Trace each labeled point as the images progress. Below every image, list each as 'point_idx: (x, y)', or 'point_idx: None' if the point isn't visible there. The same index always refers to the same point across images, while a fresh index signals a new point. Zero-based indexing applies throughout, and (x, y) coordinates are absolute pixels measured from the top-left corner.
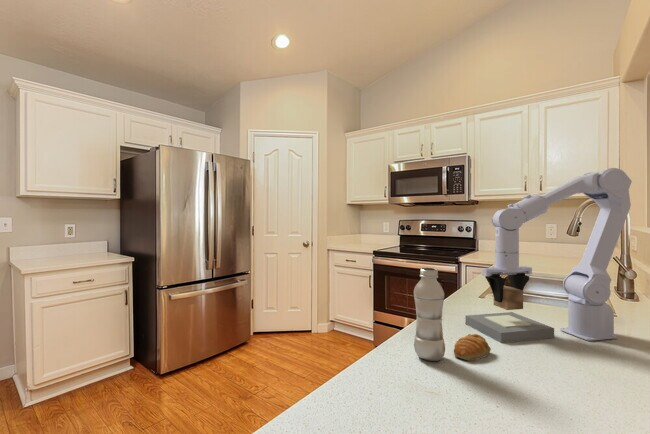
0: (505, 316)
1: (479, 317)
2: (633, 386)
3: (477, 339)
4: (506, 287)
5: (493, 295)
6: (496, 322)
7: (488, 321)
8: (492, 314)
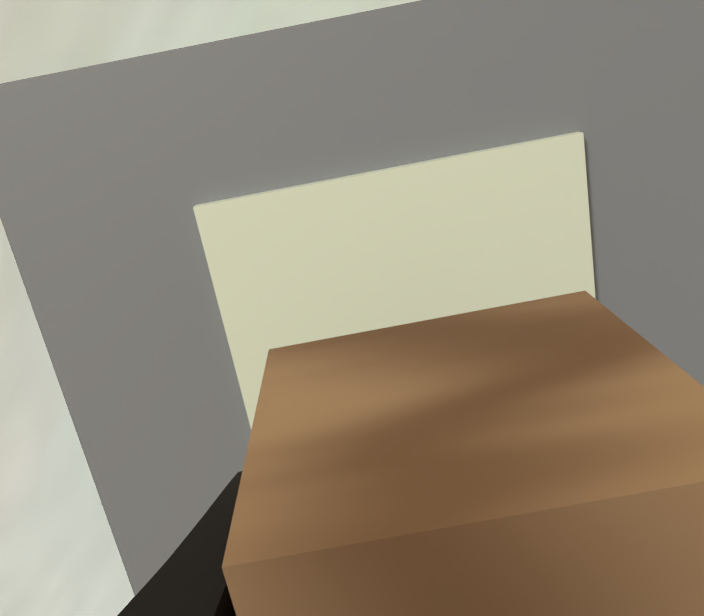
0: (498, 196)
1: (133, 186)
2: None
3: None
4: (608, 595)
5: (200, 523)
6: (247, 411)
7: (182, 345)
8: (391, 49)
